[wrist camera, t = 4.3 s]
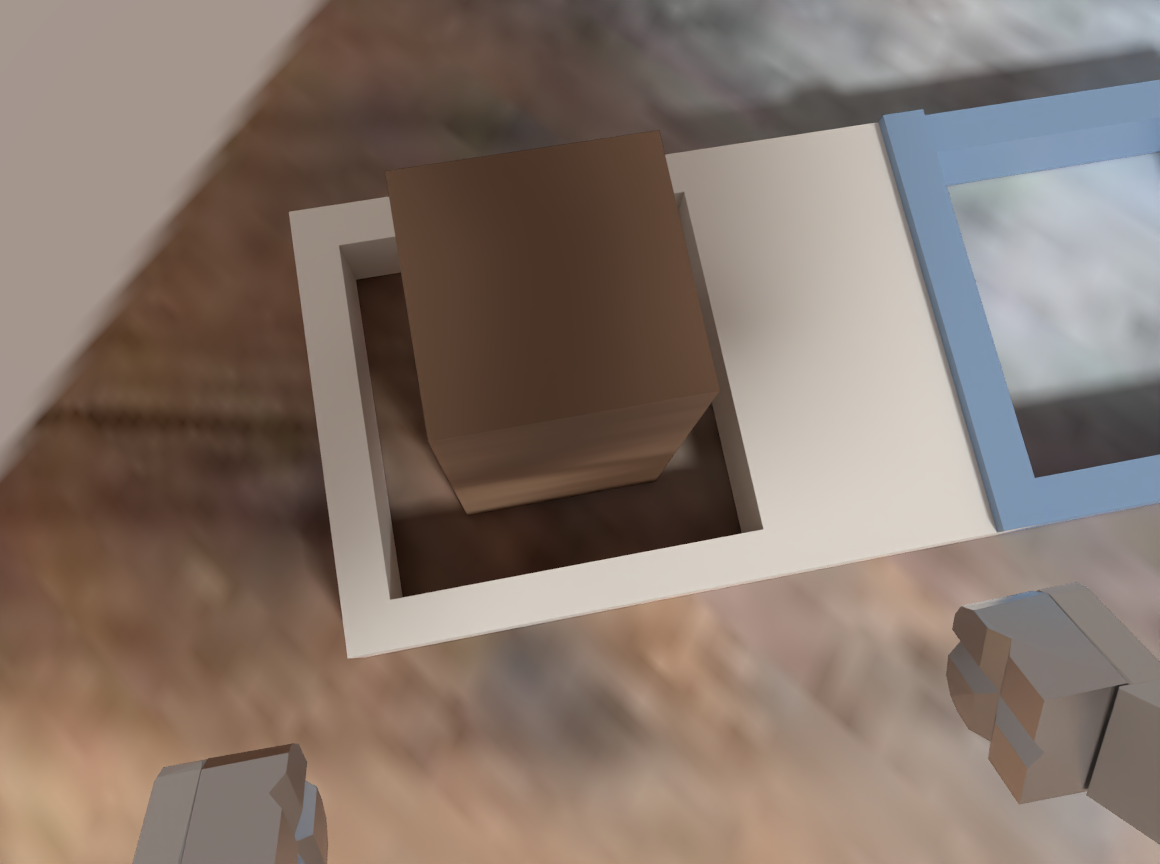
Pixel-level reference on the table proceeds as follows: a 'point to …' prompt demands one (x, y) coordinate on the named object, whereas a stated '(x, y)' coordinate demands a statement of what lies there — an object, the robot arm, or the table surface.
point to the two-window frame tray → (769, 367)
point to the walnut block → (551, 318)
